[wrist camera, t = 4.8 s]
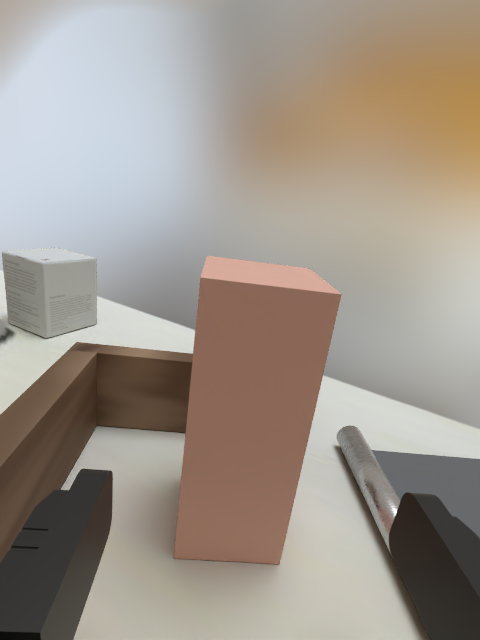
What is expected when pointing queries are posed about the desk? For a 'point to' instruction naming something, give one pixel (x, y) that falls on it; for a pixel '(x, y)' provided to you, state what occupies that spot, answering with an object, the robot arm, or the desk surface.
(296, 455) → the tall pink rectangular block
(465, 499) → the mat
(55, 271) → the product box
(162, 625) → the desk surface
